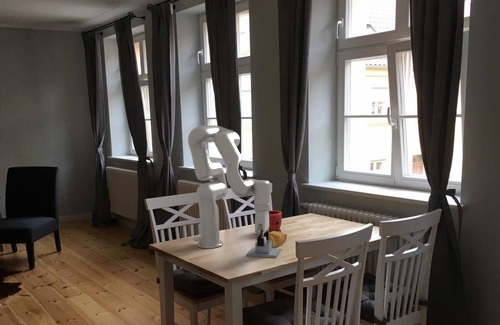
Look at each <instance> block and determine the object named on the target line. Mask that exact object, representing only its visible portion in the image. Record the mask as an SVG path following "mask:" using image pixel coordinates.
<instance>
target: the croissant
mask: <svg viewBox="0 0 500 325" xmlns="http://www.w3.org/2000/svg"><path fill="white" fill-rule="evenodd" d="M287 236H288V234H285V233H282V232H281V233H280V232H278V231H272V232H269V240H272V248H277V247H279V246H282V245H283V244H284V242H285V241H286V240H287V239H288V238H287Z"/></svg>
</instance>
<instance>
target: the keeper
mask: <svg viewBox="0 0 500 325" xmlns="http://www.w3.org/2000/svg"><path fill="white" fill-rule="evenodd" d="M263 238H264V243H266V237H263ZM281 251H282V248H277V247H272V250H271V252H270V253H269V254H264V253H255V246H254V247H253V246H252V247H251V249H250V250H248V251H247V253H246V255H245V256H246V257H251V258H253V257H256V258H272V259H273V258H278V256H279V254H280V253H281Z"/></svg>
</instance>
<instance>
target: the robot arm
mask: <svg viewBox="0 0 500 325" xmlns="http://www.w3.org/2000/svg"><path fill="white" fill-rule="evenodd" d="M240 140H241V139H240V136H239V134H238V133H237V132H236V131H234V130H233V129H232V130H231V129H228V128H226V127H222V126H220V125H215V124H213V125H200V126H196V127H194V128H192V129H191V131H190V132H189V134H188V138H187V143H188V147H189V150H190V151H189V152H190V154H191V159H192V163H193V167H194V173H195V176H196V178H197V180H199V181H209V182H205V183H203V184H200V186H199V185H198V188H197V189H196V199H197V203H198V207H199V208H198V209H199V225H200V226H199V228H200V229H199V230H200V232H199V233H200V235H199V236H196V235H195V236H194V235H193V238H192V239H193V242H198V243H197V246H198V247H199V248H202V249H215V248H219V247H221V246H223V244H224V242H223V240H220V213H219V207H218V204H217V202H216V201H218V200H221V199H224V198H225V197H226V196H227V193H228V185H229V187H230V189H231V191H232V192H233V193H234V195H236V196H237V197H238V198H245V197H248V196H251V195H253V206H254V207H253V209H254V210H253V211H254V213H255V215H254V216H255V217H254V233H256V242H257V246H261V247H264V238H263V237H266V240H269V211H272V210H271V208H272V207H271V183H270V181H269V180H264V179H263V180H262V179H261V180H259V179H255V178H247V179H243V178H242V177H241V174H240V172H239V165H240V163H241V161H242V159H243V157H242V154H241V153H240V151H239V149H238V146H239V145H240V143H241V141H240ZM206 143H207V144H208V143H214V145H215V148H217V151H218V153H219V155H220V156H221V158H222V160H223V163H224V164H225V171H224V167H223V165H222V163H221V162H220V161H219V160H216V159H212V160H211V158H210V153H209V149H208V148H207V146H206V145H205V144H206ZM225 174H226V175H225ZM226 180H227V181H226ZM227 183H228V185H227ZM261 233H262V234H261Z"/></svg>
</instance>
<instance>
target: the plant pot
mask: <svg viewBox="0 0 500 325" xmlns="http://www.w3.org/2000/svg"><path fill="white" fill-rule="evenodd" d="M282 214H283V213H282V211H280V210H270V211H269V232H272V231H278V232H280V233H282V230H281V227H282V219H283V218H282ZM261 234H262V233H261Z"/></svg>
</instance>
